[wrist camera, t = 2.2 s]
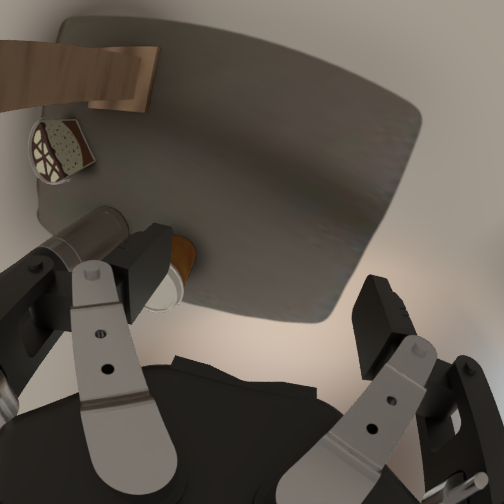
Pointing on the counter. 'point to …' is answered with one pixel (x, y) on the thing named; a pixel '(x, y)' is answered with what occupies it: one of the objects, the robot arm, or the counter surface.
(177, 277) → the disposable coffee cup
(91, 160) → the food container
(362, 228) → the counter surface
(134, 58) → the walnut stand
